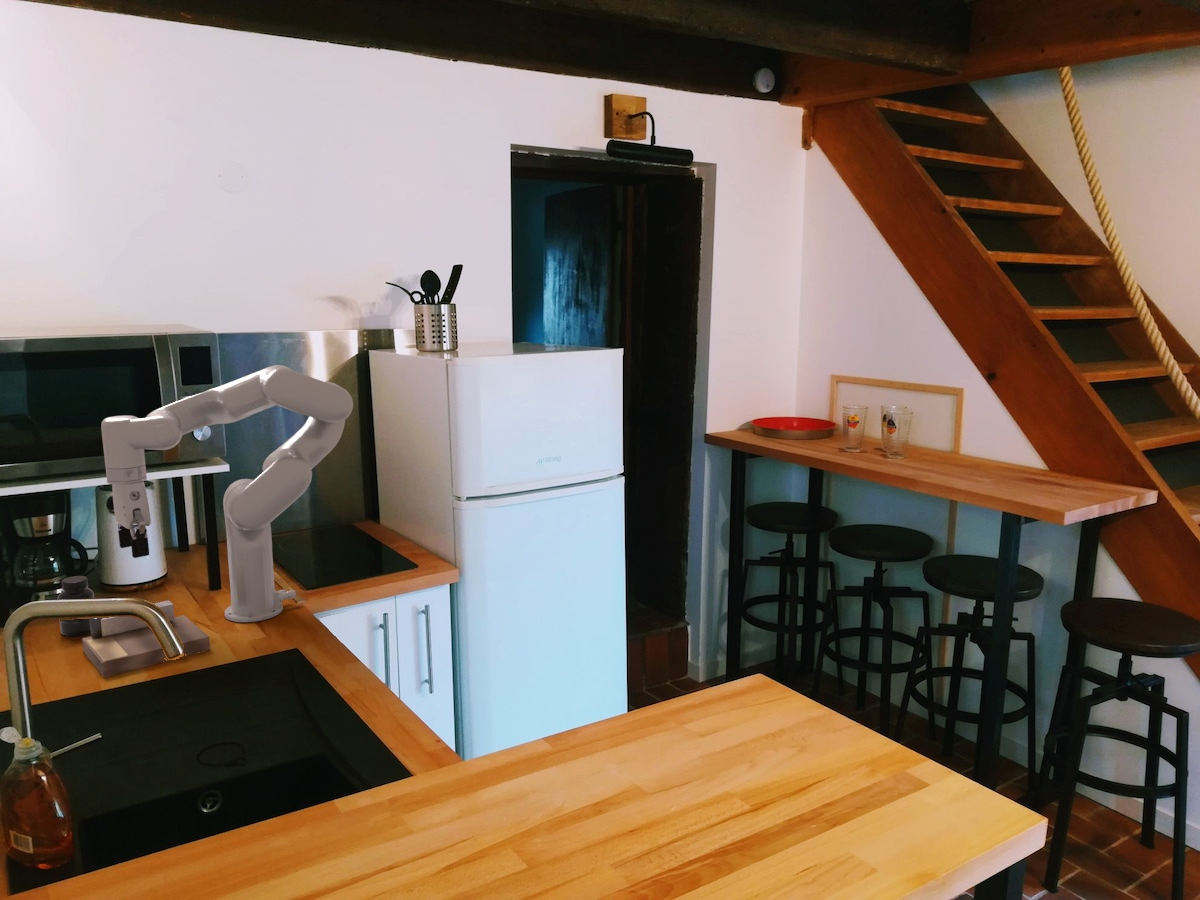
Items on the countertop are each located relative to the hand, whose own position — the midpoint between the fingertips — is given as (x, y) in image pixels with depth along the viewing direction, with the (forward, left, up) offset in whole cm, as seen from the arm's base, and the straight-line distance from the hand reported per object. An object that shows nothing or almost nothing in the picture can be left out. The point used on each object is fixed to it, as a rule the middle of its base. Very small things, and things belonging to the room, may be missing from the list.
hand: (134, 551), depth 191 cm
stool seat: (+2, +13, -18) cm, 22 cm away
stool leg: (+3, +7, -15) cm, 16 cm away
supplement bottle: (+10, -8, -18) cm, 23 cm away
